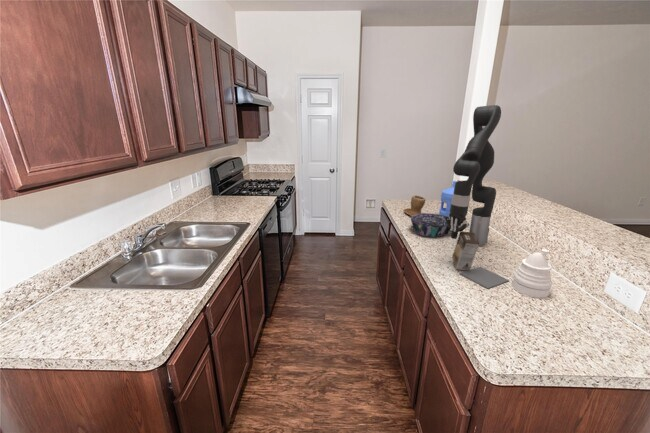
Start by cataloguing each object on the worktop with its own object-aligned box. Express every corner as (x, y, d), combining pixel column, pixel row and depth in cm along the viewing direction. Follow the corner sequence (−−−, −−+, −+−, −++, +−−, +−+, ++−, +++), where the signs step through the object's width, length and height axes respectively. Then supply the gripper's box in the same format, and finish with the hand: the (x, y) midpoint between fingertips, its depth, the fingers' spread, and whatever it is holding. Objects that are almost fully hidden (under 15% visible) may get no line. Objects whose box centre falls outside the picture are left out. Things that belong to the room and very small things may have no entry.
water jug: (463, 219, 203) (469, 180, 195) (460, 225, 191) (466, 184, 182) (440, 215, 211) (445, 178, 203) (436, 221, 199) (440, 182, 190)
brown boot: (426, 217, 207) (428, 197, 203) (411, 218, 205) (413, 198, 201) (416, 211, 222) (418, 193, 217) (402, 212, 220) (404, 194, 215)
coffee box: (451, 257, 141) (459, 230, 133) (464, 259, 140) (473, 232, 132) (455, 269, 133) (465, 241, 125) (470, 271, 132) (480, 243, 124)
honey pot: (542, 283, 121) (552, 245, 116) (554, 300, 110) (566, 259, 104) (508, 278, 125) (516, 241, 120) (516, 294, 114) (525, 254, 108)
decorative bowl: (459, 234, 180) (462, 220, 177) (436, 242, 163) (439, 226, 160) (424, 224, 199) (426, 210, 196) (400, 230, 182) (402, 215, 180)
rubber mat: (480, 267, 135) (480, 266, 135) (509, 281, 123) (509, 280, 123) (459, 274, 130) (459, 272, 129) (487, 289, 117) (487, 288, 117)
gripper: (477, 206, 127) (470, 242, 132) (454, 199, 138) (448, 232, 144) (466, 208, 124) (458, 244, 129) (443, 200, 135) (437, 234, 141)
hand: (453, 238), depth 136 cm, fingers closed
